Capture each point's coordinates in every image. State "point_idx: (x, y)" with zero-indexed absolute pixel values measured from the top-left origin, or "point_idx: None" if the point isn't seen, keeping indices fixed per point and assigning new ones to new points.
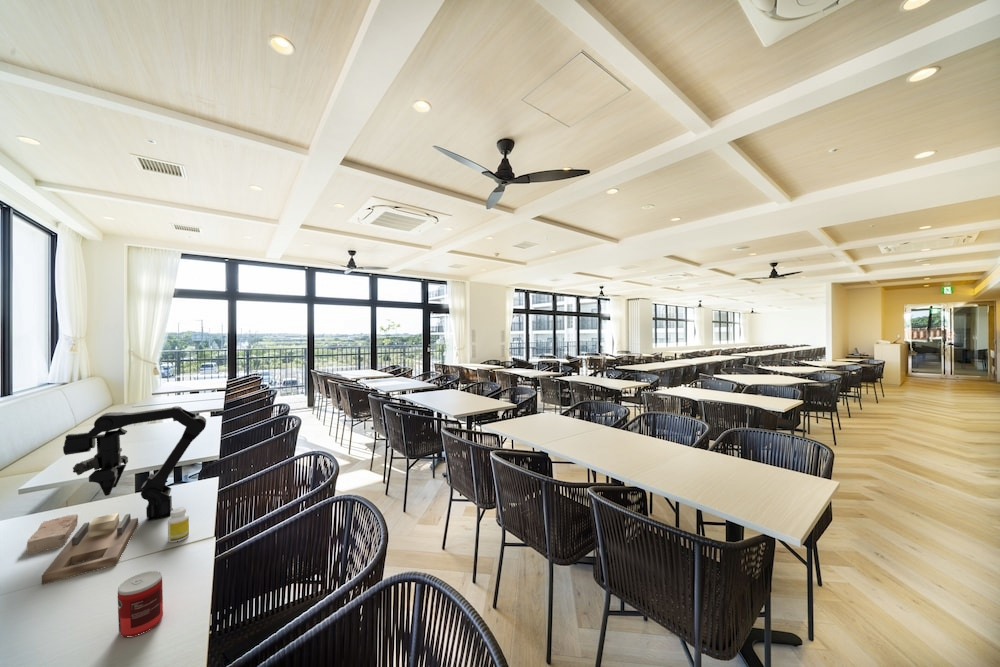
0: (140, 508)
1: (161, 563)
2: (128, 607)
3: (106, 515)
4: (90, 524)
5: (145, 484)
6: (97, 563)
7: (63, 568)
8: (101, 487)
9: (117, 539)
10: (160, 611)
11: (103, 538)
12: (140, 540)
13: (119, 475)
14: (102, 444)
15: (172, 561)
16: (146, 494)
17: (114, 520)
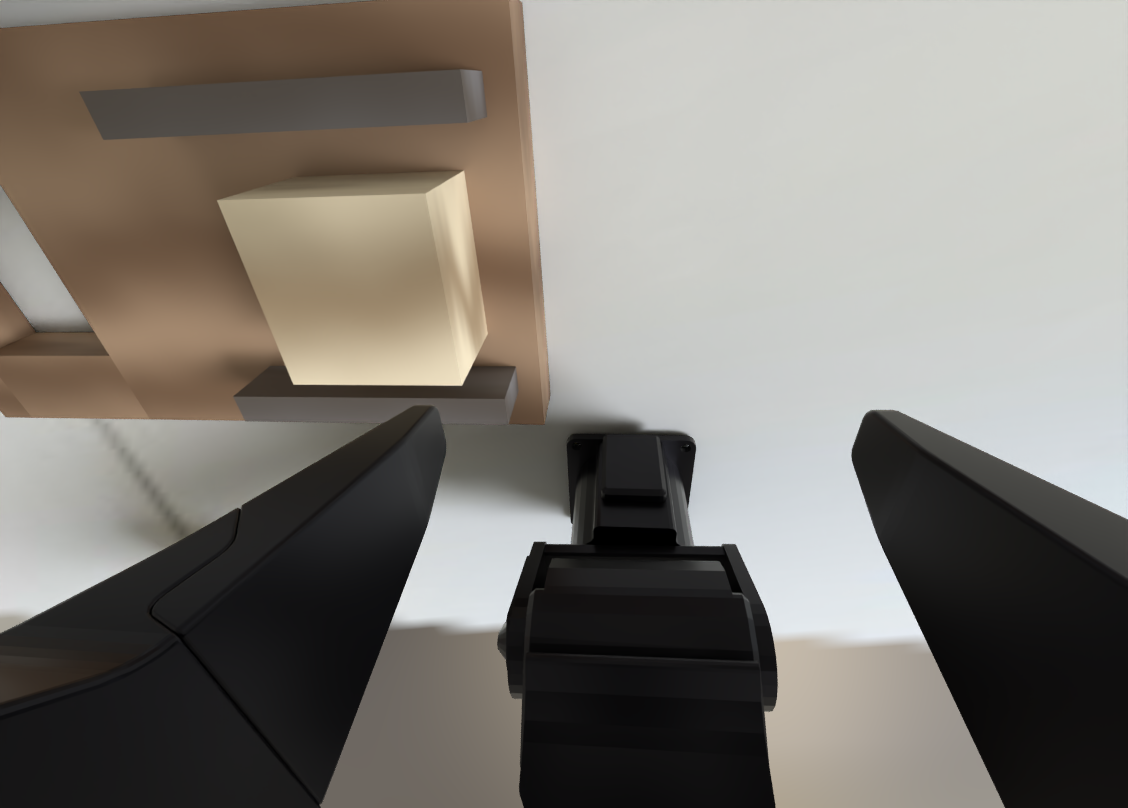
0: (905, 356)
1: (65, 525)
2: None
3: (440, 298)
4: (241, 212)
5: (524, 731)
6: None
7: None
8: (217, 527)
9: (214, 378)
10: None
11: (249, 293)
12: (301, 437)
13: (986, 743)
14: None
15: (80, 550)
16: (509, 622)
17: (314, 379)
